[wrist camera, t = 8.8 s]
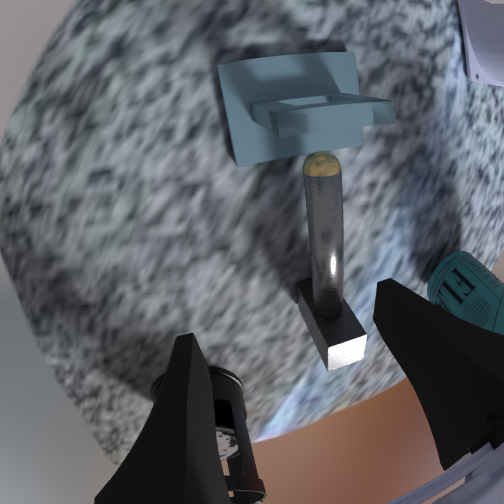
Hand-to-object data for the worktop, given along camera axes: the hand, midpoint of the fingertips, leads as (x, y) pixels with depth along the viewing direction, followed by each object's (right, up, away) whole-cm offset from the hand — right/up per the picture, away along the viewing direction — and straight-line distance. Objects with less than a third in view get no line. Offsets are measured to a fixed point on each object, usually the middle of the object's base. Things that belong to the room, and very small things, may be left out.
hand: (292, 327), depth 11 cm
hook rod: (+2, +4, +10) cm, 11 cm away
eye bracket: (+1, +11, +5) cm, 13 cm away
